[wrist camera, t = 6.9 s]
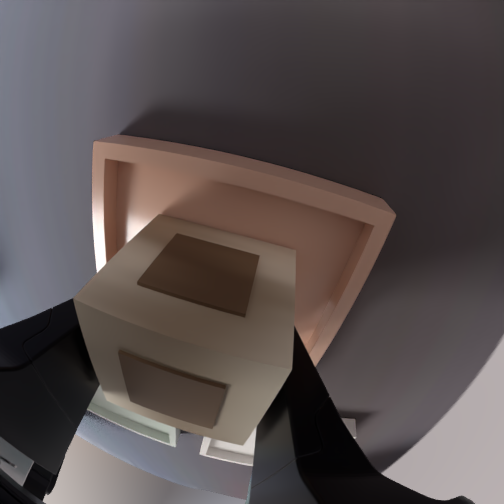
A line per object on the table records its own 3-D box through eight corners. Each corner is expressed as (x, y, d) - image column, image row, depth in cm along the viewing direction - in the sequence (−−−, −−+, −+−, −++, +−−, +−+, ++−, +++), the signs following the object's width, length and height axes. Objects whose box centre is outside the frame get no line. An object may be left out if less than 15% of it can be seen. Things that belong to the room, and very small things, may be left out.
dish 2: (121, 321, 13) (108, 340, 11) (118, 134, 8) (93, 141, 7) (296, 372, 13) (294, 396, 11) (382, 198, 8) (396, 214, 7)
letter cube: (155, 313, 11) (105, 402, 7) (159, 211, 9) (69, 297, 5) (261, 344, 11) (242, 448, 7) (297, 247, 9) (293, 371, 5)
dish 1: (88, 395, 19) (82, 407, 18) (60, 333, 15) (50, 346, 13) (180, 434, 19) (175, 447, 18) (182, 385, 15) (175, 404, 13)
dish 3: (203, 440, 19) (199, 454, 18) (215, 395, 15) (210, 414, 13) (304, 459, 19) (303, 472, 18) (355, 418, 14) (356, 437, 13)
